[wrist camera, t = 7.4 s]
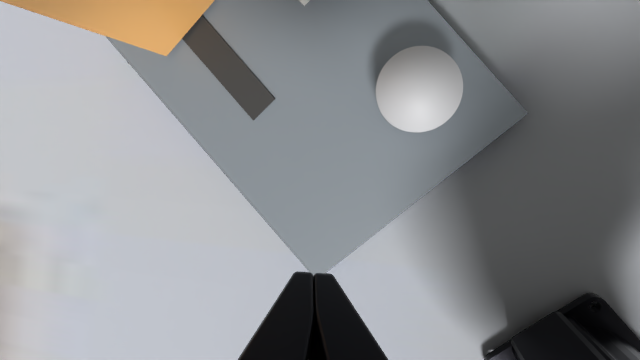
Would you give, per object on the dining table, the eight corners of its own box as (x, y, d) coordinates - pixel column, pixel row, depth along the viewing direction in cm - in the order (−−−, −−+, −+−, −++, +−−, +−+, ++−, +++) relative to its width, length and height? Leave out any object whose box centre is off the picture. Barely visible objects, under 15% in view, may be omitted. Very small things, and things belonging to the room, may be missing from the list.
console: (519, 114, 16) (548, 110, 13) (320, 272, 19) (308, 298, 16) (271, -165, 17) (247, -228, 14) (114, 34, 20) (66, 18, 17)
